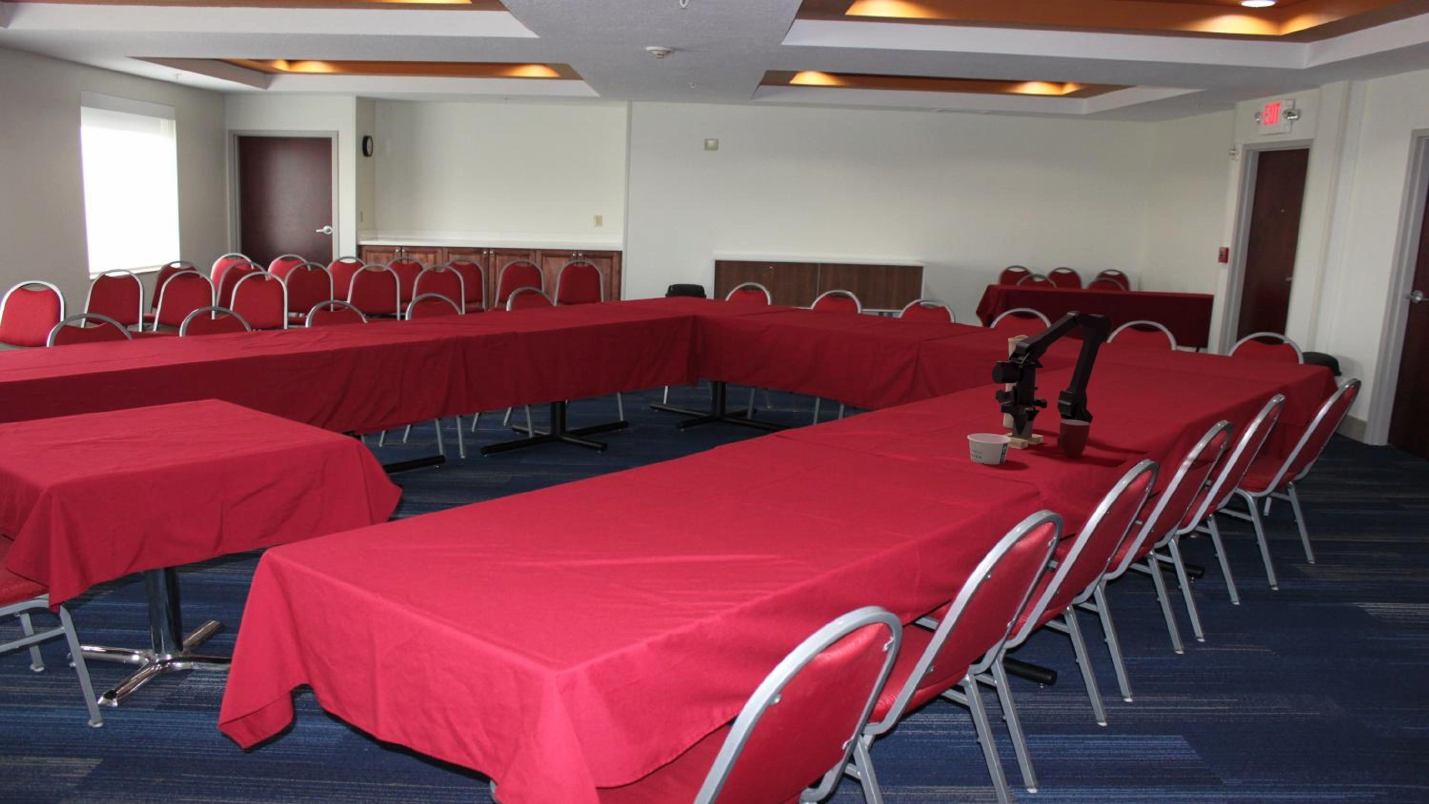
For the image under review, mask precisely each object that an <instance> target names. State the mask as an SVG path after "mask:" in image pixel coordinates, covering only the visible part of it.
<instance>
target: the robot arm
mask: <svg viewBox="0 0 1429 804" xmlns="http://www.w3.org/2000/svg"><path fill="white" fill-rule="evenodd" d="M1077 327H1081V333H1082V334H1081V335H1082V340H1083V341H1082V345H1081V348H1080V352H1079V355H1078V358H1077V360H1076V361H1077V362H1076V364H1075V368H1074V371H1073V374H1072V377H1071V381H1070V384H1069V386H1068V387H1067V388H1066V389H1065V390H1064V389H1061V390H1060V391H1059V396H1058V398H1057V400H1056V403H1057V405H1056V406H1057V408H1056V409H1057V410H1058V412H1059V413H1060V419H1062V420H1080V421H1085V422H1088V423H1090V424H1092V421H1093V419H1094V416H1093V415H1092V413H1091V412H1090V411H1089V409H1087V407H1088V395H1087V388H1088V385H1089V382H1090V378H1091V376H1092V372H1093V369H1094V366H1095V363H1096V359H1097V357H1098V353H1099V350H1100V347H1101V345H1102V344H1103V343H1104V342H1105V341H1106V340H1108V337H1109V336H1110V333H1111V331H1112V328H1113V321H1112V319H1111V318H1110V317H1109V316H1107V315H1102V314H1101V315H1100V314H1094V313H1091V314H1087V313H1083V312H1081V311H1078V310H1077V311H1076V310H1071V311H1068V312H1066V315H1063V316H1062V318H1059V319H1058V320H1057V321H1056V322H1054V323H1053V324H1051V325H1050V326H1048V327H1047V328H1046V329H1044V330H1042V331H1041V332H1040V333H1038V334H1035V335H1032V336H1031V335H1030V336H1027V337H1028V338H1025V339H1023V340H1021V341H1019V342H1018V343H1017V344H1016V348H1015V349H1014V351H1013V352H1012V354H1011V355H1010V356H1008V358H1007V360H1006V361H1005V360H997V361H996V364H995V366H994V367H993V368H992V371H991V379H992V380H993V382H994V384H997V385H1001V384H1002V385H1003V384H1004V385H1006V384H1008V383H1016V385H1014V386H1013V387H1012V390H1011V391H1007V392H1006V390H1004V389H1003V388H1002V389H998V390H995V395H994V396H995V397H994V400H996V401H997V402H998V404H999V405H1000V404H1001V405H1000V408H999V412H1000V413H1002V414H1004V413H1007V414H1010V415H1011V416H1012V417H1013V419H1014V422H1015V426H1016V430H1017V434H1019V435H1021V434H1022V431H1023V429H1024V426H1025V424H1026V421H1027V420H1028V421H1033V422H1034V421H1035V419H1036V417H1037V416H1038V415H1039V413H1040V412H1041V410H1040V409H1047V408H1048V401H1047V399H1046V398H1045V397H1043V398H1042V397H1039V396H1037V397H1036V391H1038V390H1039V386H1038V385H1036V384H1037V383H1036V382H1037V374H1038V373H1037V372H1038V370H1037V369H1042V368H1044V365H1043V364H1042V363H1041V362H1040V359H1041V358H1042V357H1043V356H1044V355H1045V354H1046V353H1047V351H1048V348H1050V346H1051V345H1053V344H1054V343H1056V342H1057V341H1059V340H1060V339H1062V337H1064V336H1066V335H1067V334H1068V333H1070V332H1072V331H1073V330H1074V329H1076V328H1077ZM1018 358H1020V359H1018ZM1021 359H1023V360H1021ZM1009 401H1010V402H1009ZM1005 402H1007V403H1005ZM1037 407H1040V409H1037ZM1088 441H1090V439H1089V438H1088V439H1087V442H1088Z"/></svg>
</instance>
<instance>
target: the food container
mask: <svg viewBox="0 0 1429 804" xmlns="http://www.w3.org/2000/svg"><path fill="white" fill-rule="evenodd" d="M1002 435H1003V434H1002ZM1002 435H1001V434H996V433H995V434H994V433H972V434H968V435H967V439H968V442H969V443H968V444H969V451H970V460H971V461H972V460H973V461H972V462H974V463H978V464H983V463H984V464H985V465H1001V464H1004V463H1005V461H1006V458H1007V453H1008V450H1009V447H1008V446H1009V442H1011V439H1010V438H1008V437H1006V436H1002Z"/></svg>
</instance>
